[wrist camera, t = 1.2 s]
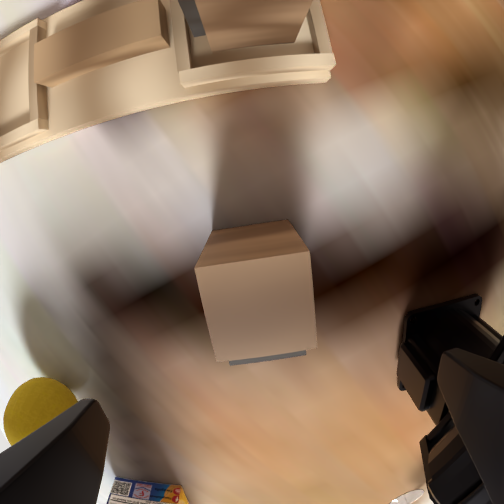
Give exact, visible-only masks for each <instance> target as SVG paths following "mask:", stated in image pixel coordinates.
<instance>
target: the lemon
mask: <svg viewBox="0 0 504 504" xmlns="http://www.w3.org/2000/svg"><path fill="white" fill-rule="evenodd" d="M77 402H78V401H77V399H76V397H75V396H74V394H73V393H72V392H71V391H70V390H69V389H68V388H67V386H65V385H63V384H62V383H60V382H59V381H57V380H54V379H51V378H46V377H40V378H33V379H30V380H29V381H27V382H25V383H23V384H22V385H21V386H19V387H18V388H17V389H16V391H15V392H14V393H13V395H12V396H11V398H10V400H9V402H8V404H7V407H6V409H5V413H4V418H3V419H4V430H5V434H6V436H7V439H8V441H9V443H10V444H11V446H13V445H14V444H16V443H17V442H19V441H20V440H22V439H23V438H25V437H26V436H28V435H29V434H31V433H32V432H34V431H35V430H37V429H38V428H40V427H41V426H43V425H44V424H46V423H47V422H49V421H50V420H52V419H53V418H55V417H56V416H58V415H59V414H61V413H62V412H64V411H65V410H67V409H68V408H70V407H71V406H73V405H74V404H76V403H77Z"/></svg>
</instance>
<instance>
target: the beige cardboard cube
mask: <svg viewBox="0 0 504 504" xmlns="http://www.w3.org/2000/svg"><path fill="white" fill-rule="evenodd" d="M195 273H196V277H197V282H198V287H199V291H200V295H201V300H202V304H203V309H204V313H205V317H206V321H207V325H208V330H209V334H210V338H211V342H212V346H213V350H214V354H215V358H216V362H223V361H229V364H230V366H231V365H239V364H248V363H256V362H263V361H270V360H277V359H284V358H290V357H297V356H303V355H306V350H309V349H315V348H317V335H316V320H315V307H314V294H313V282H312V271H311V261H310V251H309V250H308V248H307V247H306V245H305V244H304V242H303V241H302V239H301V238H300V236H299V235H298V233H297V232H296V230H295V229H294V228H293V226H292V225H291V223H290V222H289V220H288V219H287V220H280V221H273V222H266V223H259V224H253V225H246V226H239V227H233V228H226V229H220V230H214V231H212V232H211V234H210V236H209V238H208V240H207V242H206V245H205V247H204V249H203V251H202V253H201V255H200V257H199V259H198V262H197V264H196V266H195Z"/></svg>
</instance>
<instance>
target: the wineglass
mask: <svg viewBox="0 0 504 504" xmlns="http://www.w3.org/2000/svg"><path fill="white" fill-rule="evenodd" d="M423 493H424V491H423V490H414V491H411V492H408V493H406V494H403V495H401V496H400V497H398V498H396V499H395V500H393V501H392V502H391V503H390V504H412V503H413V502H415V501H416V500H418V499H419V498H420V497H421V496H422V495H423Z"/></svg>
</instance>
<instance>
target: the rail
mask: <svg viewBox="0 0 504 504" xmlns="http://www.w3.org/2000/svg"><path fill="white" fill-rule="evenodd" d="M335 65H336V62H335V57H334V53H332V48H331V44H330V39H329V35H328V31H327V27H326V23H325V19H324V15H323V11H322V7H321V3H320V0H83V1H81V2H78V3H76V4H74V5H72V6H70V7H67V8H65V9H63V10H61V11H59V12H57V13H55V14H53V15H51V16H49V17H47V18H45V19H43V20H40V19H39V18H37V19H35V20H33V21H31V22H30V23H28V24H26V25H24V26H23V27H21V28H19V29H18V30H16V31H14V32H13V33H11V34H10V35H8V36H7V37H5V38H3V39H2V40H0V163H1V162H3V161H5V160H7V159H10V158H12V157H14V156H16V155H18V154H21V153H23V152H25V151H27V150H30V149H32V148H34V147H37V146H39V145H42V144H44V143H47V142H49V141H52V140H54V139H57V138H59V137H62V136H65V135H68V134H70V133H73V132H76V131H79V130H82V129H84V128H87V127H90V126H93V125H96V124H100V123H103V122H106V121H109V120H112V119H116V118H119V117H123V116H126V115H130V114H133V113H137V112H141V111H144V110H148V109H152V108H156V107H160V106H164V105H169V104H173V103H178V102H182V101H187V100H192V99H197V98H202V97H207V96H213V95H219V94H225V93H231V92H237V91H244V90H252V89H259V88H268V87H277V86H287V85H299V84H313V83H326V82H327V81H328V80H329V79H330V78H331V74H330V70H331V69H332V68H333V67H334V66H335Z"/></svg>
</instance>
